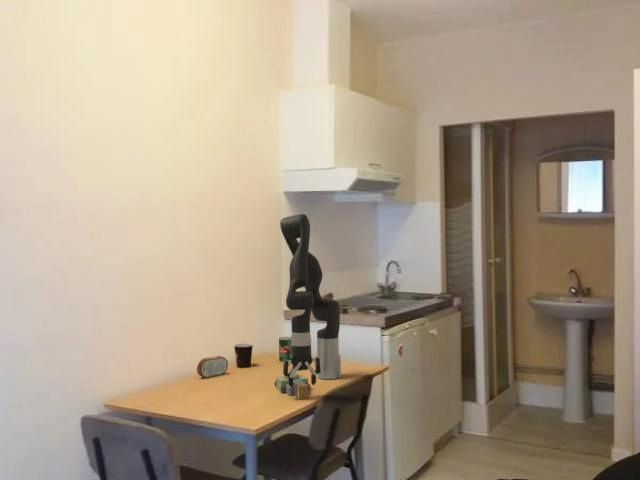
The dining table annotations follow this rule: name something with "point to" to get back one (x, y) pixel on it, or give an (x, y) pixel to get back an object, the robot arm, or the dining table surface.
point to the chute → (300, 389)
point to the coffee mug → (243, 355)
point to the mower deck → (283, 384)
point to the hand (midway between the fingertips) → (302, 385)
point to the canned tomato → (285, 349)
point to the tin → (212, 366)
